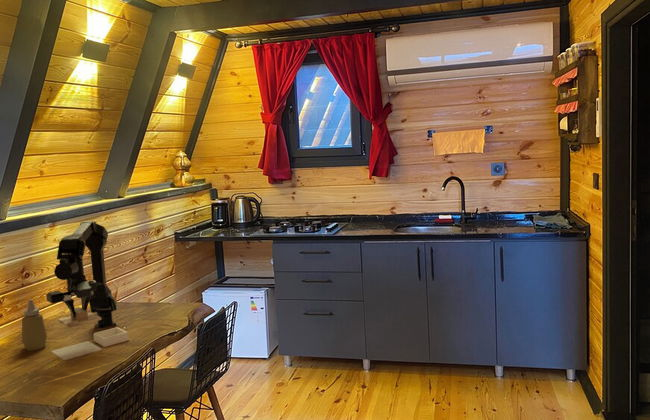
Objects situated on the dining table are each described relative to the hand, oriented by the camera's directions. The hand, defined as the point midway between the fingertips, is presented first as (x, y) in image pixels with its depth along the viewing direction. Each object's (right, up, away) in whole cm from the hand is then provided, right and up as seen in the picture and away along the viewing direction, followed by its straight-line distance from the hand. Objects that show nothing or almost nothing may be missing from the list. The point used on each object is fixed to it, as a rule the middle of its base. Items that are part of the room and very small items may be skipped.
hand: (79, 316), depth 203 cm
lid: (0, -2, 0) cm, 2 cm away
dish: (+8, -11, +8) cm, 16 cm away
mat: (-1, -12, 0) cm, 12 cm away
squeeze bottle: (-18, -13, +5) cm, 22 cm away
